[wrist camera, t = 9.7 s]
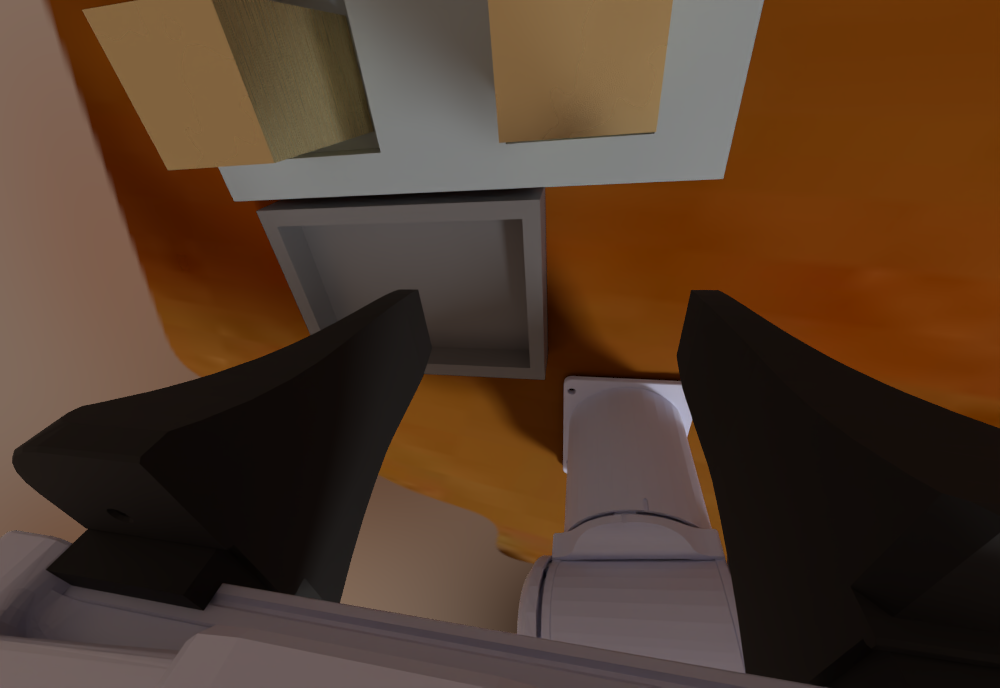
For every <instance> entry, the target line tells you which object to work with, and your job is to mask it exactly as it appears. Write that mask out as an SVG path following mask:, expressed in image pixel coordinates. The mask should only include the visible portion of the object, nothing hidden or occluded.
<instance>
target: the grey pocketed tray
mask: <svg viewBox="0 0 1000 688" xmlns="http://www.w3.org/2000/svg"><path fill="white" fill-rule="evenodd" d="M269 1H274V2H279V3H284V4H289V5H294V6H299V7H305V8H310V9H315V10H320V11H325V12H330V13H335V14H340V15H345V16H346V17H347V21H348V25H349V29H350V34H351V38H352V42H353V46H354V50H355V54H356V59H357V63H358V67H359V71H360V75H361V79H362V84H363V88H364V92H365V96H366V100H367V104H368V108H369V113H370V117H371V121H372V125H373V129H374V131H373V132H370V133H367V134H364V135H361V136H358V137H355V138H351V139H348V140H345V141H342V142H339V143H336V144H333V145H330V146H326V147H323V148H320V149H317V150H314V151H311V152H308V153H305V154H301V155H298V156H295V157H292V158H289V159H286V160H283V161H280V162H277V163H269V164H255V165H240V166H225V167H218V168H219V170H220V172H221V174H222V176H223V178H224V181H225V183H226V185H227V187H228V189H229V191H230V193H231V196H232V198H233V200H234V201H254V200H276V199H298V198H319V197H341V196H362V195H384V194H405V193H427V192H448V191H470V190H491V189H513V188H534V187H556V186H577V185H599V184H620V183H642V182H663V181H685V180H706V179H723V177H724V173H725V168H726V164H727V160H728V155H729V151H730V146H731V142H732V138H733V133H734V129H735V124H736V120H737V116H738V111H739V107H740V103H741V98H742V94H743V89H744V85H745V81H746V76H747V72H748V67H749V63H750V59H751V54H752V50H753V46H754V41H755V37H756V32H757V28H758V24H759V19H760V15H761V10H762V6H763V2H764V0H673V4H672V12H671V20H670V28H669V36H668V44H667V52H666V60H665V67H664V75H663V83H662V91H661V99H660V107H659V115H658V123H657V130H656V132H647V133H633V134H619V135H605V136H590V137H576V138H562V139H547V140H533V141H519V142H505V143H499V136H498V123H497V111H496V98H495V85H494V73H493V60H492V47H491V35H490V22H489V9H488V0H269Z"/></svg>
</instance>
